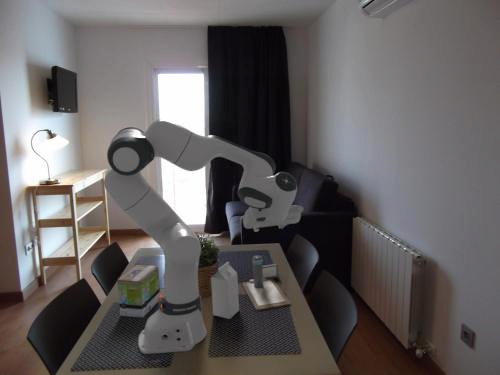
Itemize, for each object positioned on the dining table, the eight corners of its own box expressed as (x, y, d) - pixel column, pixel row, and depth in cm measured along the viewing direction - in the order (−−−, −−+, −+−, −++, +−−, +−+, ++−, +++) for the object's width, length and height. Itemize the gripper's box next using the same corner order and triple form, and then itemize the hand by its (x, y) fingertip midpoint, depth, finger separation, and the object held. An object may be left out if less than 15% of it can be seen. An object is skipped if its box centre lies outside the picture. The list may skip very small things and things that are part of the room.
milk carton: (213, 315, 141) (210, 267, 137) (223, 306, 147) (220, 260, 143) (229, 319, 138) (226, 270, 134) (239, 310, 144) (236, 263, 140)
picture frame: (260, 280, 169) (260, 267, 168) (260, 278, 170) (259, 266, 169) (277, 277, 171) (277, 264, 170) (277, 276, 172) (276, 263, 171)
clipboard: (256, 310, 143) (256, 306, 143) (241, 284, 166) (241, 280, 166) (291, 304, 146) (291, 301, 146) (272, 279, 169) (272, 276, 169)
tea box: (144, 318, 141) (140, 281, 138) (119, 316, 143) (115, 279, 140) (161, 299, 156) (158, 264, 153) (139, 297, 158) (135, 263, 155)
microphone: (255, 289, 159) (253, 259, 157) (252, 284, 163) (251, 256, 160) (264, 287, 160) (263, 258, 157) (261, 283, 164) (260, 254, 161)
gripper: (302, 197, 132) (292, 217, 143) (244, 203, 127) (239, 223, 138) (307, 213, 129) (297, 232, 140) (248, 219, 124) (243, 239, 135)
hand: (268, 228), depth 139 cm, fingers open, 8 cm apart
